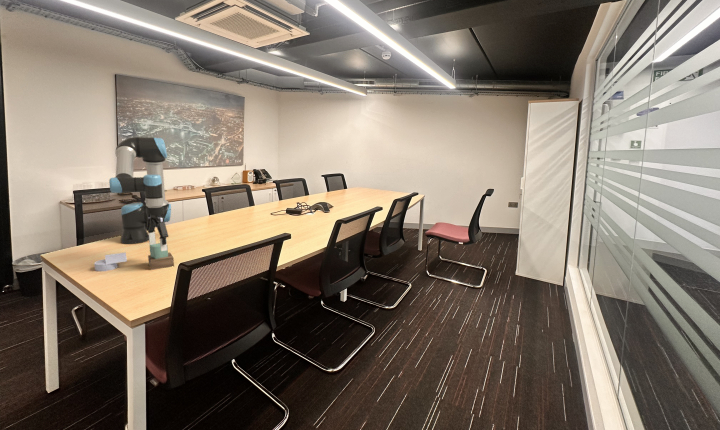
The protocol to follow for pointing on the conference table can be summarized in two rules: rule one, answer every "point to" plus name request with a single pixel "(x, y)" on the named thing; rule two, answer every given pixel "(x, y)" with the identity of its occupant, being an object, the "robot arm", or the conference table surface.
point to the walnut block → (161, 262)
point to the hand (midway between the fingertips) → (158, 247)
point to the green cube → (157, 251)
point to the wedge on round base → (110, 262)
